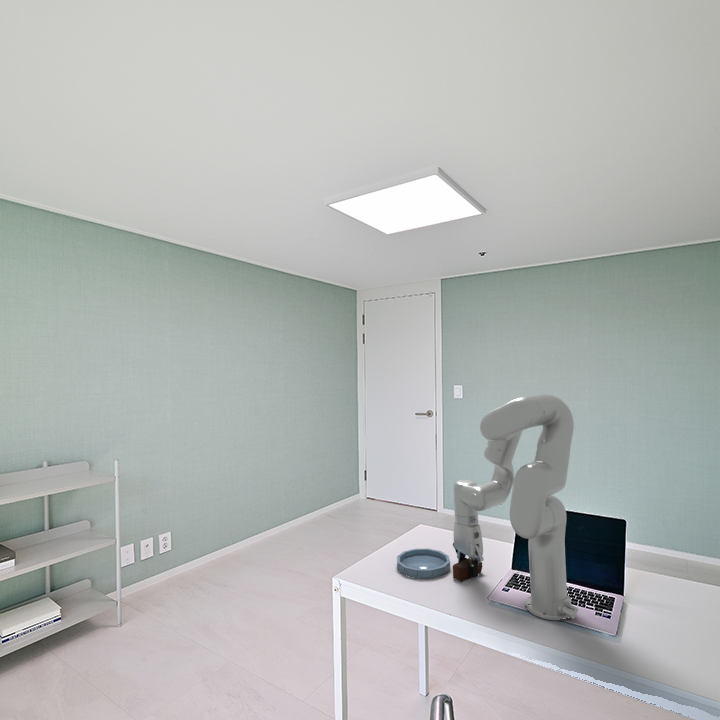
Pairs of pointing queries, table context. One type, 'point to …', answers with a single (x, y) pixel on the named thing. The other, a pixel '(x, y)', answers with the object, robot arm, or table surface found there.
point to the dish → (423, 563)
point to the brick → (463, 570)
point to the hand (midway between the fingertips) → (468, 573)
